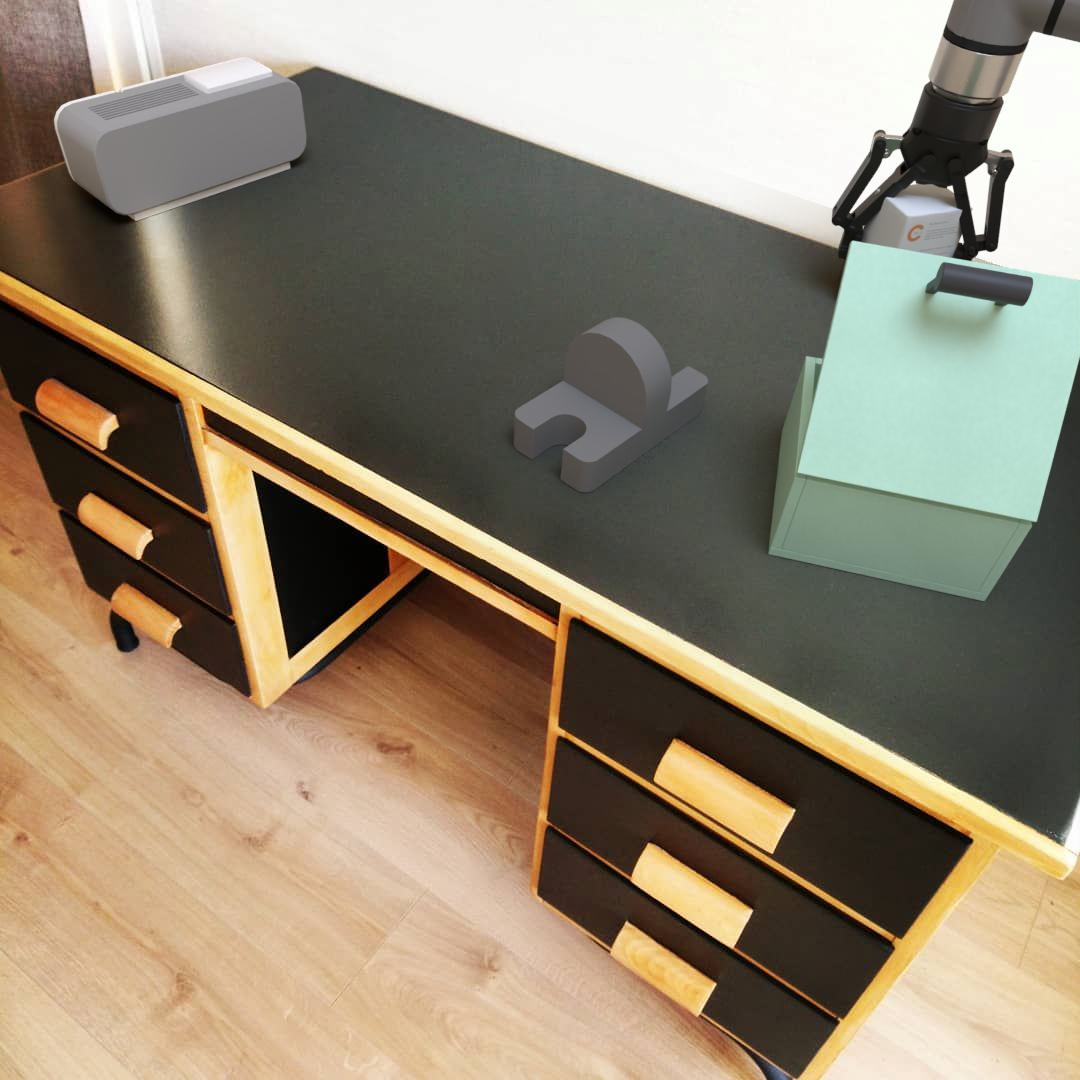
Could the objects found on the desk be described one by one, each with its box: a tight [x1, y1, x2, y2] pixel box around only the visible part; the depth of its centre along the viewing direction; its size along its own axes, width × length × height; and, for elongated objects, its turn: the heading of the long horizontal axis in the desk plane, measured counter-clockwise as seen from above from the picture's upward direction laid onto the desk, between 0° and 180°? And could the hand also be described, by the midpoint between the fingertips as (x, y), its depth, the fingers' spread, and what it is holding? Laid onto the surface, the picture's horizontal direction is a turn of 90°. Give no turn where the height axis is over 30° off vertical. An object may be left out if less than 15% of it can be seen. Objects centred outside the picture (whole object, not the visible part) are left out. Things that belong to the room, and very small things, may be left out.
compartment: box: [767, 355, 1033, 602], centre depth 80 cm, size 17×18×9 cm
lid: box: [796, 241, 1080, 523], centre depth 68 cm, size 18×18×6 cm
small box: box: [861, 183, 973, 258], centre depth 102 cm, size 8×6×13 cm
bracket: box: [512, 316, 709, 493], centre depth 86 cm, size 10×18×11 cm, turn 137°
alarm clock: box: [53, 56, 308, 222], centre depth 113 cm, size 27×9×12 cm, turn 136°
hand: (889, 292), depth 106 cm, fingers closed on small box, 10 cm apart
